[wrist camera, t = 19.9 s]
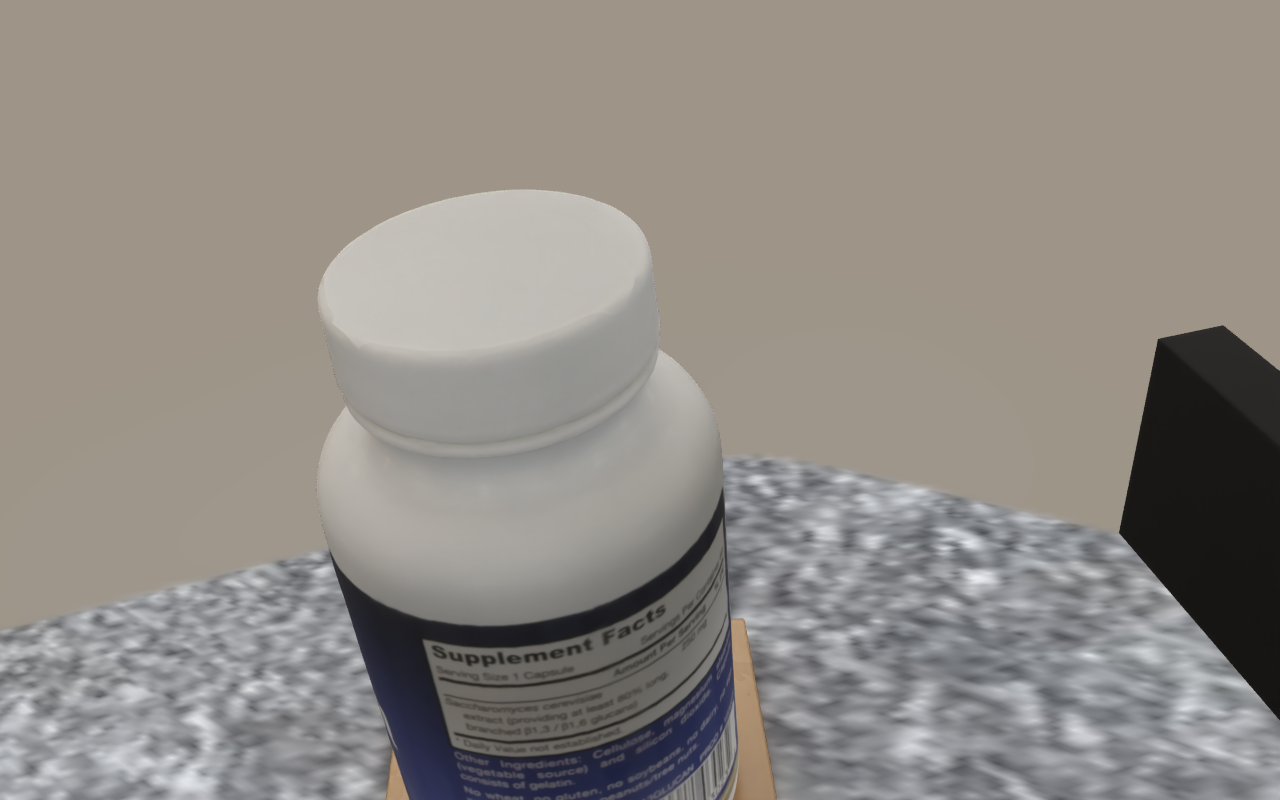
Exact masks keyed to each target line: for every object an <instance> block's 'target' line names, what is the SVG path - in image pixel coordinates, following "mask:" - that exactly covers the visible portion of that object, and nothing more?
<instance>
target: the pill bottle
mask: <svg viewBox="0 0 1280 800" xmlns="http://www.w3.org/2000/svg"><path fill="white" fill-rule="evenodd" d="M318 310H319V316H320V319H321V323H322V327H323V331H324V335H325V338H326V342H327V346H328V349H329V354H330V358H331V362H332V366H333V371H334V375H335V378H336V381H337V385H338V386H339V388H340V390H341V392H342V394H343V398H344V401H345V404H346V407H345V408H344V410H343V411H342V412H341V414H340V415H339V417H338V418H337V420H336V421H335V423H334V425H333V426H332V428H331V430H330V432H329V434H328V436H327V438H326V441H325V443H324V446H323V449H322V453H321V457H320V460H319V465H318V472H317V488H316V491H317V501H318V507H319V513H320V518H321V522H322V526H323V530H324V533H325V537H326V540H327V543H328V547H329V551H330V554H331V558H332V562H333V565H334V569H335V572H336V575H337V578H338V581H339V584H340V587H341V590H342V593H343V595H344V598H345V602H346V605H347V608H348V611H349V614H350V617H351V620H352V624H353V627H354V630H355V633H356V637H357V640H358V643H359V646H360V649H361V653H362V656H363V659H364V662H365V665H366V668H367V671H368V674H369V677H370V680H371V683H372V686H373V690H374V693H375V697H376V701H377V703H378V705H379V708H380V710H381V714H382V717H383V720H384V723H385V726H386V729H387V732H388V735H389V738H390V742H391V745H392V748H393V751H394V754H395V757H396V760H397V764H398V767H399V770H400V773H401V776H402V779H403V782H404V785H405V788H406V791H407V794H408V797H409V800H733V797H734V793H735V789H736V784H737V777H738V768H739V744H738V730H737V712H736V700H735V686H734V670H733V653H732V633H731V616H730V595H729V577H728V559H727V538H726V518H725V495H724V476H723V461H722V450H721V441H720V434H719V430H718V426H717V422H716V419H715V416H714V414H713V411H712V409H711V406H710V404H709V402H708V401H707V399H706V397H705V395H704V393H703V392H702V391H701V389H700V388H699V386H698V385H697V384H696V382H695V381H694V380H693V378H692V377H691V376H690V375H689V374H688V372H687V371H686V370H685V369H684V368H683V367H681V366H680V365H679V364H678V363H677V362H676V361H675V360H674V359H672V358H671V357H670V356H669V355H667V354H665V353H664V352H662V351H661V350H660V349H659V335H660V316H659V310H658V305H657V298H656V290H655V283H654V275H653V268H652V258H651V252H650V248H649V245H648V243H647V240H646V238H645V236H644V234H643V232H642V231H641V229H640V228H639V226H638V225H637V224H636V223H635V222H634V221H633V220H632V219H630V218H629V217H628V216H626V215H625V214H623V213H622V212H620V211H619V210H617V209H615V208H614V207H612V206H609V205H607V204H604V203H602V202H599V201H597V200H594V199H591V198H588V197H584V196H579V195H575V194H570V193H564V192H556V191H544V190H502V191H494V192H485V193H477V194H472V195H466V196H461V197H456V198H450V199H446V200H442V201H439V202H435V203H431V204H428V205H424V206H421V207H419V208H416V209H413V210H410V211H407V212H404V213H402V214H400V215H397V216H395V217H393V218H391V219H388V220H386V221H384V222H382V223H380V224H378V225H377V226H375V227H374V228H372V229H371V230H369V231H367V232H366V233H364V234H362V235H361V236H359V237H358V238H356V239H355V240H354V241H352V242H351V243H350V244H348V245H347V246H346V247H345V248H344V249H343V250H342V251H341V252H340V253H339V254H338V255H337V256H336V258H335V259H334V260H333V261H332V262H331V264H330V265H329V267H328V268H327V270H326V272H325V274H324V276H323V278H322V280H321V283H320V286H319V290H318Z"/></svg>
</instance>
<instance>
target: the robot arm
mask: <svg viewBox="0 0 1280 800" xmlns="http://www.w3.org/2000/svg"><path fill="white" fill-rule="evenodd" d="M1119 533H1120V535H1121V536H1122V537H1123V538H1124V539H1125V540H1126V542H1127V543H1128V544H1129V545H1130V546H1131V547H1132V549H1133V550H1134V551H1135V552H1136V553H1137V554H1138V556H1139V557H1140V558H1141V559H1142V560H1143V561H1144V563H1145V564H1146V565H1147V566H1148V567H1149V568H1150V570H1151V571H1152V572H1153V573H1154V574H1155V575H1156V577H1157V578H1158V579H1159V580H1160V581H1161V582H1162V584H1163V585H1164V586H1165V587H1166V588H1167V589H1168V591H1169V592H1170V593H1171V594H1172V595H1173V596H1174V598H1175V599H1176V600H1177V601H1178V602H1179V603H1180V604H1181V606H1182V607H1183V608H1184V609H1185V610H1186V611H1187V613H1188V614H1189V615H1190V616H1191V617H1192V618H1193V620H1194V621H1195V622H1196V623H1197V624H1198V625H1199V627H1200V628H1201V629H1202V630H1203V631H1204V632H1205V634H1206V635H1207V636H1208V637H1209V638H1210V639H1211V641H1212V642H1213V643H1214V644H1215V645H1216V646H1217V648H1218V649H1219V650H1220V651H1221V652H1222V653H1223V655H1224V656H1225V657H1226V658H1227V659H1228V660H1229V662H1230V663H1231V664H1232V665H1233V666H1234V667H1235V669H1236V670H1237V671H1238V672H1239V673H1240V674H1241V676H1242V677H1243V678H1244V679H1245V680H1246V681H1247V683H1248V684H1249V685H1250V686H1251V687H1252V688H1253V690H1254V691H1255V692H1256V693H1257V694H1258V695H1259V697H1260V698H1261V699H1262V700H1263V701H1264V702H1265V704H1266V705H1267V706H1268V707H1269V708H1270V709H1271V711H1272V712H1273V713H1274V714H1275V715H1276V716H1277V718H1278V719H1279V720H1280V371H1279V370H1278V369H1276V368H1275V367H1274V366H1273V365H1271V364H1270V363H1269V362H1268V361H1266V360H1265V359H1264V358H1263V357H1262V356H1260V355H1259V354H1258V353H1257V352H1255V351H1254V350H1253V349H1252V348H1250V347H1249V346H1248V345H1247V344H1246V343H1244V342H1243V341H1242V340H1240V339H1239V338H1238V337H1237V336H1236V335H1234V334H1233V333H1232V332H1231V331H1229V330H1228V329H1227V328H1226V327H1224V326H1218V327H1213V328H1209V329H1204V330H1199V331H1194V332H1189V333H1184V334H1180V335H1175V336H1170V337H1165V338H1161V339H1158V342H1157V347H1156V352H1155V357H1154V362H1153V367H1152V372H1151V377H1150V382H1149V387H1148V392H1147V397H1146V402H1145V407H1144V412H1143V416H1142V422H1141V426H1140V431H1139V436H1138V441H1137V446H1136V451H1135V456H1134V461H1133V466H1132V471H1131V476H1130V481H1129V486H1128V491H1127V496H1126V501H1125V506H1124V511H1123V516H1122V521H1121V526H1120V531H1119Z"/></svg>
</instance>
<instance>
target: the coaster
mask: <svg viewBox="0 0 1280 800" xmlns="http://www.w3.org/2000/svg"><path fill="white" fill-rule="evenodd" d="M731 633H732V653H733V670H734V686H735V700H736V712H737V730H738V744H739V768H738V777H737V784H736V789H735V793H734V797H733V800H777V796H776V791H775V785H774V780H773V774H772V769H771V763H770V758H769V752H768V747H767V741H766V736H765V730H764V725H763V719H762V714H761V708H760V703H759V697H758V692H757V686H756V680H755V675H754V669H753V664H752V658H751V653H750V647H749V642H748V636H747V631H746V625H745V621H744V619H732V620H731ZM386 800H409V797H408V794H407V791H406V788H405V785H404V782H403V779H402V776H401V773H400V770H399V767H398V764H397V760H396V757H395V754H394V751H393V749H392V757H391V764H390V772H389V779H388V787H387V794H386Z"/></svg>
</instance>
